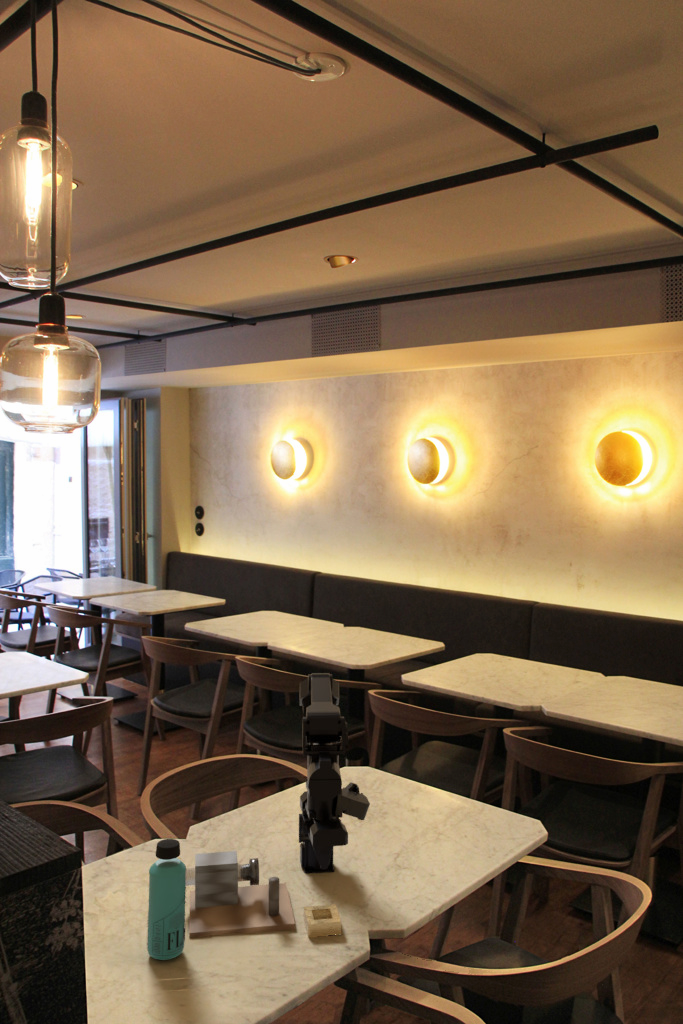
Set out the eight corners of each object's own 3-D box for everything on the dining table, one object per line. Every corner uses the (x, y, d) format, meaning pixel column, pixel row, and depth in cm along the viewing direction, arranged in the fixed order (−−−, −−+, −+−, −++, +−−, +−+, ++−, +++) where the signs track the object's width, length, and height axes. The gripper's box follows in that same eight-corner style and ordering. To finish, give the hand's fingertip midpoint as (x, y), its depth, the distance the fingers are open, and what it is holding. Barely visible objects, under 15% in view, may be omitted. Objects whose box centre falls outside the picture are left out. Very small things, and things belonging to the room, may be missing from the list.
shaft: (257, 877, 157) (257, 853, 157) (259, 889, 152) (259, 865, 152) (182, 883, 154) (182, 859, 154) (181, 896, 150) (181, 871, 150)
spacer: (335, 917, 150) (335, 904, 149) (340, 935, 144) (341, 921, 144) (303, 920, 148) (303, 907, 148) (308, 938, 143) (308, 924, 142)
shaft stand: (286, 888, 160) (286, 843, 160) (295, 929, 145) (295, 880, 145) (190, 896, 156) (190, 851, 156) (189, 939, 142) (189, 889, 141)
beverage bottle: (165, 974, 132) (169, 854, 131) (137, 960, 135) (140, 844, 135) (192, 955, 137) (196, 840, 137) (164, 943, 141) (168, 831, 140)
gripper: (377, 796, 137) (376, 884, 138) (356, 759, 156) (355, 837, 156) (313, 800, 135) (312, 890, 136) (299, 762, 154) (299, 842, 154)
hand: (322, 863), depth 146 cm, fingers open, 4 cm apart
